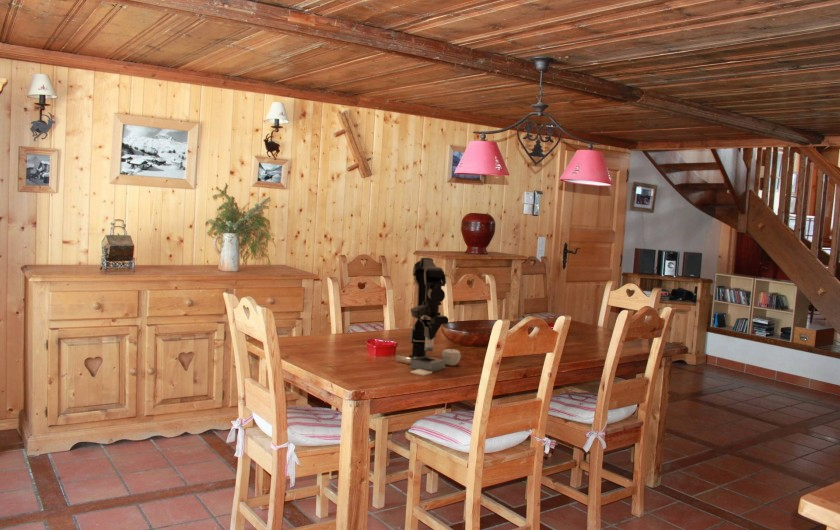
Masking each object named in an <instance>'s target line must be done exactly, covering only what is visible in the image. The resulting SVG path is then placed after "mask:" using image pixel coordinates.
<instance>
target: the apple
mask: <svg viewBox="0 0 840 530" xmlns="http://www.w3.org/2000/svg"><path fill="white" fill-rule="evenodd" d="M461 357H462V355H461V351H460V350H458V349H454V348H447V349H443V350H442V352H441V358H442V359H443V360H445V366H451V367H452V366H456V365H458V363H460V361H461Z"/></svg>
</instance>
